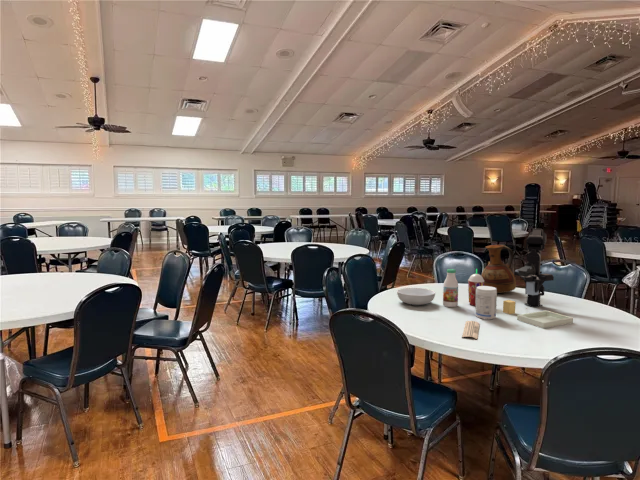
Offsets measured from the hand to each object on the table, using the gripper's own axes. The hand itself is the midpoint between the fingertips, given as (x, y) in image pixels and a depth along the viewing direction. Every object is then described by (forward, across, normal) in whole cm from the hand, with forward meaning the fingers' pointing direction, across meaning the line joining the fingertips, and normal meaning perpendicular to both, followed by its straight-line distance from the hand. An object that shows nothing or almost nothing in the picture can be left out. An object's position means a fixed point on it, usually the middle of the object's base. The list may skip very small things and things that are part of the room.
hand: (532, 291), depth 206 cm
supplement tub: (+12, -4, -26) cm, 29 cm away
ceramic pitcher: (+11, -44, +22) cm, 50 cm away
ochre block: (+11, -6, -9) cm, 16 cm away
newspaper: (+13, +10, -47) cm, 50 cm away
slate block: (+1, 0, 0) cm, 1 cm away
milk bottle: (+12, -28, -28) cm, 41 cm away
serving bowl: (+12, -40, -42) cm, 59 cm away
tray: (+12, +12, -6) cm, 18 cm away
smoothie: (+12, -25, -13) cm, 30 cm away
